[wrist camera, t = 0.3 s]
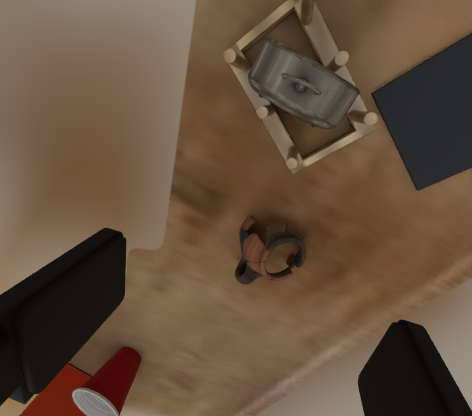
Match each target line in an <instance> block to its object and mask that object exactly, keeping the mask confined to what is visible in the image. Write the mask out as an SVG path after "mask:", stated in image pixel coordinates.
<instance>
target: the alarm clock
mask: <svg viewBox="0 0 472 416" xmlns="http://www.w3.org/2000/svg"><path fill="white" fill-rule="evenodd" d="M248 81H249V84H250V86H251V87H252V88H253V90H254V91H255V92H257V93H258V94H259V97H261V98H262V97H263V98H265V99H266V100H268V101H269V102H271V103H272V104H274V105H276V106H277V107H279V108H281V109H283V110H284V111H286V113H285V115H287V112H288V113H290V114H292V115H294V116H296V117H297V118H299V119H301V120H303V121H305V122H307V123H309V124H312V126H313V127H319V128H323V129H331V128H334V127H336V126H338V124H339V123H340V122H341V120H342V119H343V117H344V116H345V114H346V113H347V111H348V110H349V108H350V107H351V105H352V104H353V102H354V101H355V100H356V98H357V97H358V95H359V94H360V92H359V90H358V89H357V88H356V87H355V86H354V85H353V84H351V83H350V82H348V81H346V80H345V79H343V78H342V77H341V76H339V75H338V74H336V73H334V72H333V71H331V70H330V69H328V68H326V67H325V66H323V65H321V64H319V63H317V62H316V61H314V60H312V59H310V58H308V57H307V56H305V55H303V54H301V53H299V52H297V51H295V50H293V49H291V48H289V47H287V46H285V45H283V44H281V43H279V42H277V41H275V40H272V39H268V38H266V39H264V40H263V42H262V45H261V47H260V49H259V52H258V54H257V56H256V58H255V61H254V63H253V65H252V67H251V70H250V72H249V74H248Z"/></svg>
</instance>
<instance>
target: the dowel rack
mask: <svg viewBox="0 0 472 416" xmlns="http://www.w3.org/2000/svg"><path fill="white" fill-rule="evenodd" d="M294 11H295V13H296V15H297V17H298V19H299V21H300V23H301V25H302V27H303V29H304V31H305V33H306V35H307V37H308V39H309V41H310V43H311V45H312V47H313V49H314V51H315V53H316V55H317V57H318V59H319V61H320V63H321V65H323V66H325V67H326V68H328V69H330V70H331V71H333V72H334V73H336V74H338V75H339V76H341V77H342V78H343V79H345V80H346V81H348V82H350V83H351V84H353V85H354V86H355V84H354V82H353V79H352V77H351V75H350V73H349V71H348V69H347V67H346V65H345V64H346V63H347V62H348V59H349V55H348V53H347V52H346V51H339V50H338V48H337V46H336V44H335V42H334V40H333V38H332V36H331V34H330V32H329V30H328V28H327V25H326V23H325V21H324V19H323V17H322V15H321V13H320V11H319V9H318V7H317V5H316V3H315V0H287V1H286V2H284V3H283V4H282V5H281V6H280V7H278V8H277V9H276V10H275V11H274V12H272V13H271V14H270V15H269V16H268V17H266V18H265V19H264V20H263V21H262V22H260V23H259V24H258V25H257V26H256V27H254V28H253V29H252V30H251V31H250V32H248V33H247V34H246V35H245V36H244V37H242V38H241V39H240V40H239V41H238V42H236V43H235V44H234V45H233V46H231V47H230V48H229V49H227V50H226V51H225V52H224V53H223V54H224V60H225V61H226V62H227V63H229V64H230V66H231V68H232V70H233V71H234V73H235V75H236V76H237V78H238V80H239V82H240V83H241V85H242V87H243V88H244V90H245V92H246V94H247V95H248V97H249V99H250V101H251V102H252V104H253V106H254V107H255V109H256V114H257V116H258V117H259V118H261V119H262V121H263V123H264V125H265V126H266V128H267V130H268V132H269V133H270V135H271V137H272V138H273V140H274V142H275V144H276V145H277V147H278V149H279V151H280V152H281V154H282V156H283V157H284V159H285V161H286V166H287V168H289V169H291V171H292V173H293V174H294V173H296V172H298V171H300V170H302V169H303V168H305V167H307V166H309V165H311V164H312V163H314V162H316V161H318V160H320V159H322V158H323V157H325V156H327V155H329V154H331V153H333V152H334V151H336V150H338V149H340V148H342V147H344V146H345V145H347V144H349V143H351V142H353V141H355V140H356V139H358V138H360V137H362V136H364V135H366V134H368V133H369V132H371V131H373V130H375V129H376V127H375V125H374V124H375V123H376V122H377V120H378V116H377V114H376V113H374V112H368V111H367V109H366V106H365V104H364V102H363V100H362V98H361V96H360V94H359V95H358V97H357V98H356V100H355V101H354V102H353V104H352V105H351V107H350V108H349V110H348V111H347V113H346V115H347V117H348V119H349V121H350V123H351V125H352V127H353V129H354V130H352V131H350V132H349V133H347V134H345V135H343V136H342V137H340V138H338V139H336V140H334V141H333V142H331V143H329V144H327V145H326V146H324V147H322V148H320V149H318V150H317V151H315V152H313V153H311V154H309V155H308V156H306V157H304V158H302V156H301V154H300V152H299V151H298V149H297V147H296V145H295V144H294V142H293V140H292V138H291V136H290V135H289V133H288V131H287V129H286V128H285V126H284V124H283V122H282V121H281V119H280V117H279V115H278V113H277V112H276V110H275V108H274V106H273V105H272V103H271V102H269V101H268V100H266V99H265V98H263V97H262V98H261V97H259V94H258V93H257V92H255V91H254V90H253V88H252V87H251V86H250V84H249V81H248V74H249V72H250V70H251V65H250V64H249V62H248V60H247V58H246V57H245V55H244V53H243V52H244V51H245V50H247V49H248V48H249V47H250V46H252V45H253V44H254V43H255V42H257V41H258V40H259V39H260V38H262V37H263V36H264V35H265V34H266V33H268V32H269V31H270V30H271V29H273V28H274V27H275V26H276V25H278V24H279V23H280V22H281V21H283V20H284V19H285V18H286V17H288V16H289V15H290V14H291V13H293V12H294ZM355 87H356V86H355Z"/></svg>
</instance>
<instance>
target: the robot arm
mask: <svg viewBox="0 0 472 416" xmlns="http://www.w3.org/2000/svg"><path fill="white" fill-rule="evenodd" d="M125 268H126V238H124V237H123V234H122V233H121V232H119V231H116V230H113V229H109V228H104V229H102V230H100V231H99V232H97V233H95V234H94V235H92V236H91V237H89V238H88V239H86V240H85V241H83V242H82V243H80V244H78V245H77V246H75V247H74V248H72V249H71V250H69V251H68V252H66V253H64V254H63V255H61V256H60V257H58V258H57V259H55V260H54V261H52V262H51V263H49V264H47V265H46V266H44V267H43V268H41V269H40V270H38V271H37V272H35V273H34V274H32V275H30V276H29V277H27V278H26V279H24V280H23V281H21V282H20V283H18V284H16V285H15V286H13V287H12V288H10V289H9V290H8V291H6V292H4V293H3V294H1V295H0V406H1V405H2V404H3V402H5V401H6V400H7V399H8V398H11V399H13V400H15V401H18V402H20V403H23V404H26V403H27V402H28V401H29V399H30V398H31V397H32V396H33V395H34V394H39V393H41V392H42V391H43V390H44V389H45V388H46V387H47V386H48V385H49V384H50V383H51V381H52V380H53V379H54V378H55V377H56V376H57V375H58V374H59V372H60V371H61V370H62V369H63V368H64V367H65V366H66V364H67V363H68V362H69V361H70V360H71V359H72V358H73V357H74V355H75V354H76V353H77V352H78V351H79V350H80V349H81V348H82V346H83V345H84V344H85V343H86V342H87V341H88V340H89V338H90V337H91V336H92V335H93V334H94V333H95V332H96V331H97V329H98V328H99V327H100V326H101V325H102V324H103V323H104V322H105V320H106V319H107V318H108V317H109V316H110V315H111V314H112V312H113V311H114V310H115V309H116V308H117V307H118V306H119V305H120V303H121V302H122V300H123V298H124V295H125ZM358 387H359V392H360V397H361V401H362V406H363V410H364V415H365V416H472V411H471V409H470V407H469V405H468V404H467V402H466V400H465V398H464V397H463V395H462V393H461V391H460V390H459V388H458V386H457V384H456V382H455V381H454V379H453V377H452V375H451V373H450V372H449V370H448V368H447V366H446V365H445V363H444V361H443V360H442V358H441V356H440V354H439V352H438V351H437V349H436V347H435V345H434V343H433V342H432V340H431V338H430V336H429V335H428V333H427V331H426V329H425V328H424V327H423V326H421V325H418V324H415V323H412V322H409V321H406V320H399V321H398V322H397V323H396V322H393V323H392V324H391V325H390V327H389V328H388V330H387V332H386V333H385V335H384V337H383V338H382V340H381V341H380V343H379V345H378V346H377V347H376V349H375V351H374V352H373V354H372V356H371V357H370V359H369V360H368V362H367V363H366V365H365V366H364V368H363V370H362V371H361V373H360V375H359V378H358Z"/></svg>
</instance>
